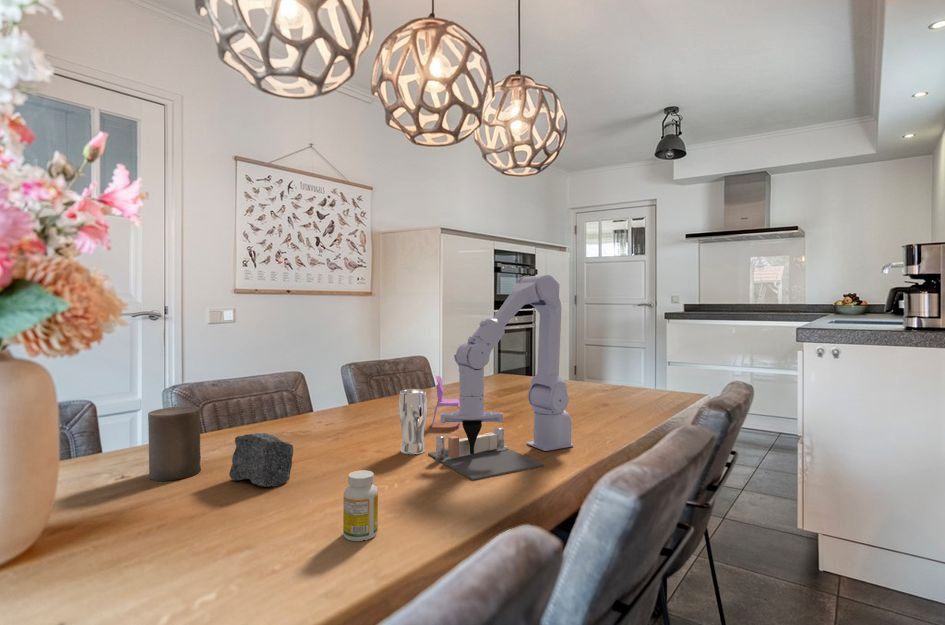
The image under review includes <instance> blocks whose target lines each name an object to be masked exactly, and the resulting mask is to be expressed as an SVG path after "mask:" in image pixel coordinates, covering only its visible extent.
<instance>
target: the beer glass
mask: <svg viewBox="0 0 945 625" xmlns="http://www.w3.org/2000/svg"><path fill="white" fill-rule="evenodd" d="M398 398H399V399H398V401H399V402H398V416H399V417H398V418H399V424H400V428H401V437H402V438H401V444H400V453H401V454H403V455H408V454H409V456H413V455H415V454H416V455H420V454H424V453H425V452H426V445H425V437H424V436H425V428H426V422H427V417H428V416H427V414H428V397H427V390H426V389H421V388H408V389H407V388H406V389H402V390H399V397H398Z"/></svg>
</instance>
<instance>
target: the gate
mask: <svg viewBox="0 0 945 625" xmlns="http://www.w3.org/2000/svg"><path fill="white" fill-rule="evenodd" d="M447 438H448V440H447V441H448V442H447V443H448V444H447V446H448V447H447V448H448V456H449V457H451V458H456V457H459V456H464V455H468V454H470V444H469V441H468V438H467V437H465V438H460V437H458V436H456V435H452V436H448V437H447ZM493 449H497V434H494V432H487V433H483V434H478V436H477V439H476V442H475V445H474V453H477V452H482V451H486V450H493Z"/></svg>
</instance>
